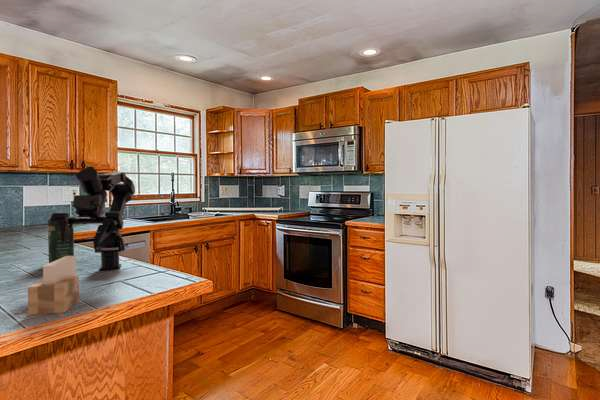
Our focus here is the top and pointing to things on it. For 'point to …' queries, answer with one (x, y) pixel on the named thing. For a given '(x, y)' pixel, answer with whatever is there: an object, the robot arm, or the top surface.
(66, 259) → the cover plate
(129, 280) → the top surface
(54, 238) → the coffee jar
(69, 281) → the oak box
